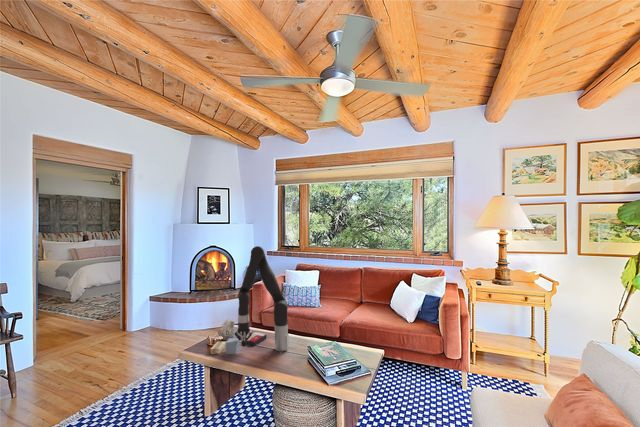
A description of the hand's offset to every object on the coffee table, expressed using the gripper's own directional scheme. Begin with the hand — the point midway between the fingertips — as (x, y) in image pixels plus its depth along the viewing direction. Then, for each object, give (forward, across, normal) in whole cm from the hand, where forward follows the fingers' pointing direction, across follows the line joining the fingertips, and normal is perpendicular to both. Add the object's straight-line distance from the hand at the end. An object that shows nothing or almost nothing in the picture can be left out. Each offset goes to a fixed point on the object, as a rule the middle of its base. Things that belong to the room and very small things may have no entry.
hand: (243, 346), depth 206 cm
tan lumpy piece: (+4, +19, -3) cm, 20 cm away
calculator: (+5, -3, -18) cm, 19 cm away
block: (+4, +8, 0) cm, 9 cm away
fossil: (+4, +21, -23) cm, 31 cm away
